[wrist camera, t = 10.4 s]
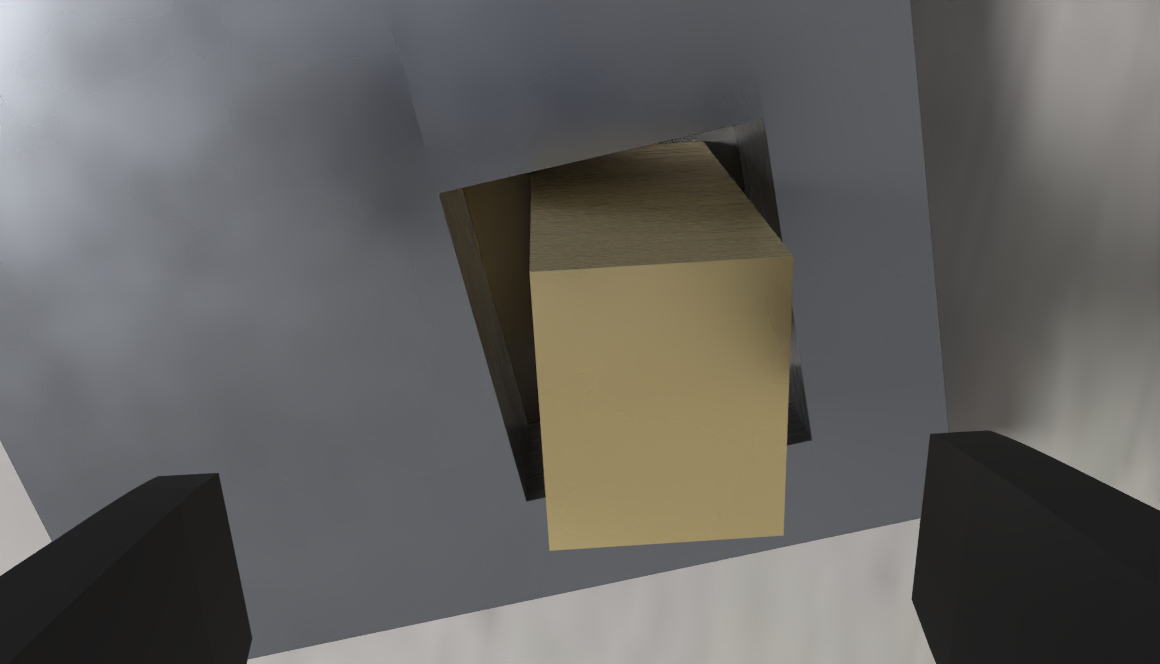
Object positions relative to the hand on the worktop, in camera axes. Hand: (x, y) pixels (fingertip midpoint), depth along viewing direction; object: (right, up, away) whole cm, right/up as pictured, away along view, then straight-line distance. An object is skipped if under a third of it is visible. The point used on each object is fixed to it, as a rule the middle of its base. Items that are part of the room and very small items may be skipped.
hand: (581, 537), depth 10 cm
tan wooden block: (+1, +4, +9) cm, 10 cm away
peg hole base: (-3, +5, +8) cm, 10 cm away
